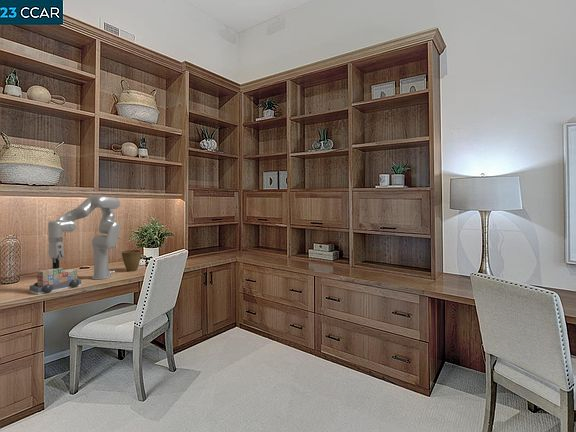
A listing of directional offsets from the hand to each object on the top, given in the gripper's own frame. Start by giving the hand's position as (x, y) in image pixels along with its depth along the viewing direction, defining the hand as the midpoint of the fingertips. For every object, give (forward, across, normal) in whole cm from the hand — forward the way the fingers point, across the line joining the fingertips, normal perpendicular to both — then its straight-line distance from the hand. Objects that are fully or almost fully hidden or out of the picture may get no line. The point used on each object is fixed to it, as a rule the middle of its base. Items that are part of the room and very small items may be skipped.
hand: (56, 268), depth 220 cm
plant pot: (+13, +10, -62) cm, 64 cm away
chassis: (+13, 0, 0) cm, 13 cm away
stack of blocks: (+12, 0, -1) cm, 13 cm away
